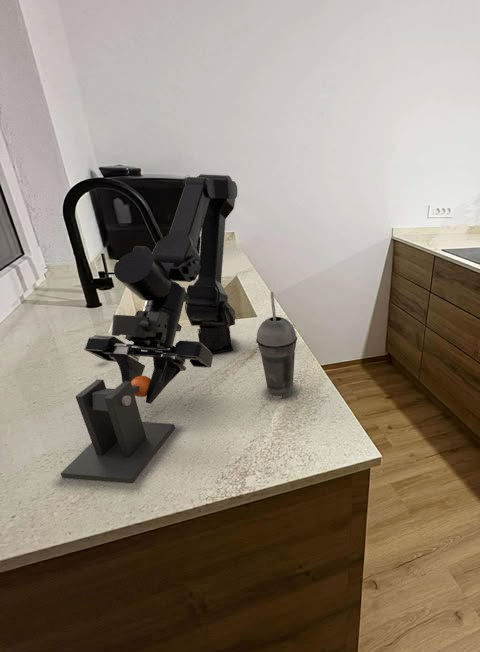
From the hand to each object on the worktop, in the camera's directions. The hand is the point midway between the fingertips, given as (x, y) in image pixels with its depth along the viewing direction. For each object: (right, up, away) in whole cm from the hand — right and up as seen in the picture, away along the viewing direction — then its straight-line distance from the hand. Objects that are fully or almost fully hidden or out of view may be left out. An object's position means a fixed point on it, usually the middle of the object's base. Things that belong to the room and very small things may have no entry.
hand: (137, 402), depth 61 cm
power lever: (0, 0, -3) cm, 3 cm away
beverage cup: (+20, 0, +14) cm, 24 cm away
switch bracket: (-1, -8, -3) cm, 8 cm away
